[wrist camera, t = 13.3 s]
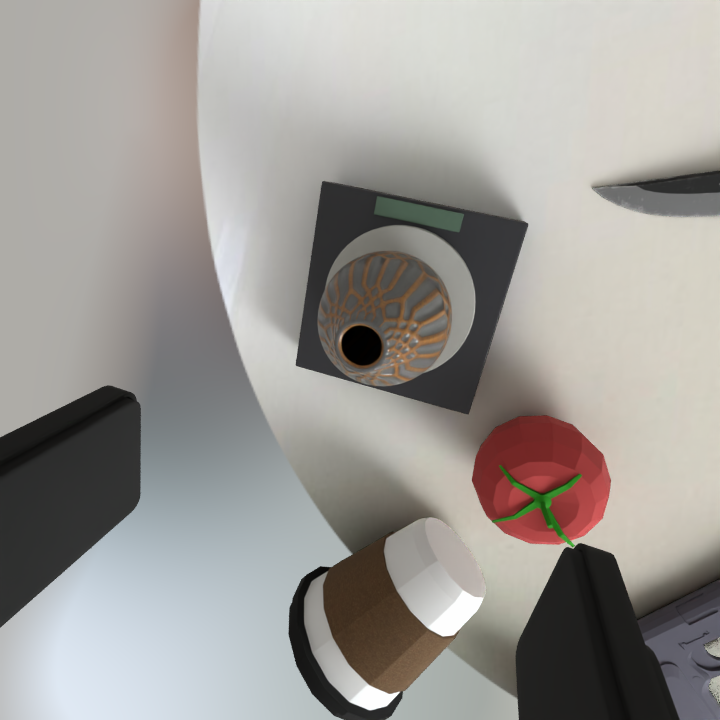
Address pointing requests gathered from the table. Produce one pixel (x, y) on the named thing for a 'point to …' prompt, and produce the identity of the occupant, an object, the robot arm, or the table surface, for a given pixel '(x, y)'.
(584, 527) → the tomato
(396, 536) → the coffee cup
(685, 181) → the knife
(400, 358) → the vase
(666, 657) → the handgun
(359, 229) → the scale
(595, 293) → the table surface
